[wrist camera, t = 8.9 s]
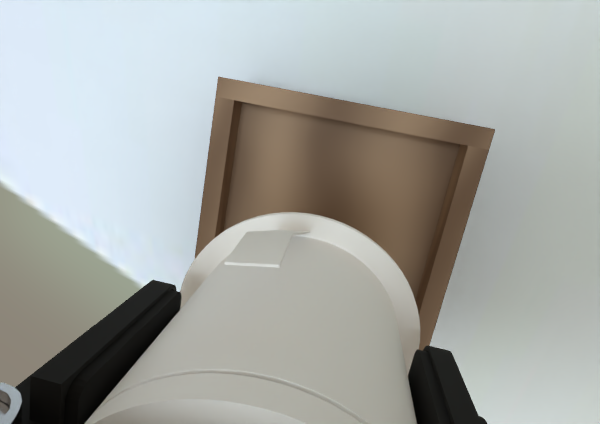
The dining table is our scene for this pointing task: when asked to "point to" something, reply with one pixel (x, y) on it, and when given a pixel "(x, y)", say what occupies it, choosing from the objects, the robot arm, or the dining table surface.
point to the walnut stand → (347, 176)
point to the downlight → (280, 333)
